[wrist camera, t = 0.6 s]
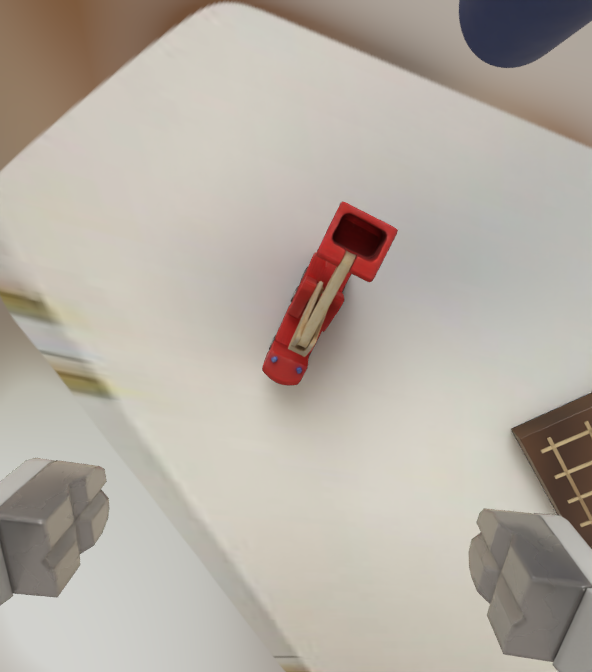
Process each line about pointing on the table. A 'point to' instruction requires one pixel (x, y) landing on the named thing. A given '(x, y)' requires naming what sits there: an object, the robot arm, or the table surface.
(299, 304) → the toy fire truck
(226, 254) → the table surface
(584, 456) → the board
